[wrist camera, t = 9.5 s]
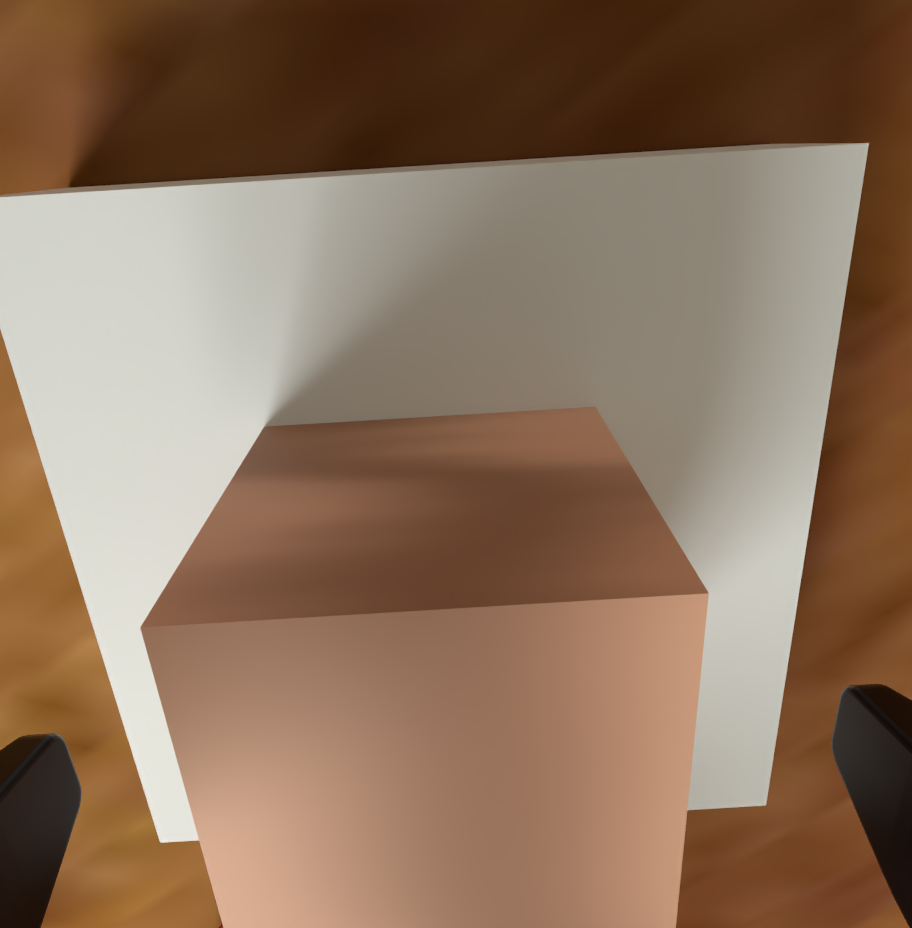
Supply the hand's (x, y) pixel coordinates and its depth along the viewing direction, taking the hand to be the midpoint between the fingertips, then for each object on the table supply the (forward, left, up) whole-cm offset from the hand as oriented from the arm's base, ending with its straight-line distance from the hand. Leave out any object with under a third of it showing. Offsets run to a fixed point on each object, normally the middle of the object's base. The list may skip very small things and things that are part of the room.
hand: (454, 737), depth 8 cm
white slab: (0, 0, -7) cm, 7 cm away
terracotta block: (0, 0, -4) cm, 4 cm away
